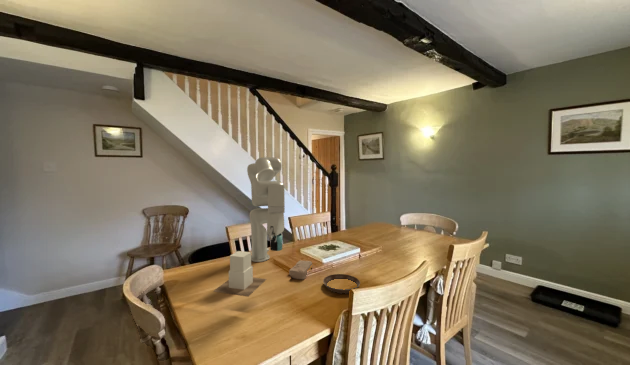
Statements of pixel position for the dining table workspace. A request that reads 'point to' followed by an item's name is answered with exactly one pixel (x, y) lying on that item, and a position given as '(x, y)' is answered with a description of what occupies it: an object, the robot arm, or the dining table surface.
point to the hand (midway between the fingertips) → (276, 248)
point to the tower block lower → (241, 279)
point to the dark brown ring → (340, 276)
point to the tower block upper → (240, 261)
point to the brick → (300, 269)
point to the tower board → (247, 292)
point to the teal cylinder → (279, 242)
